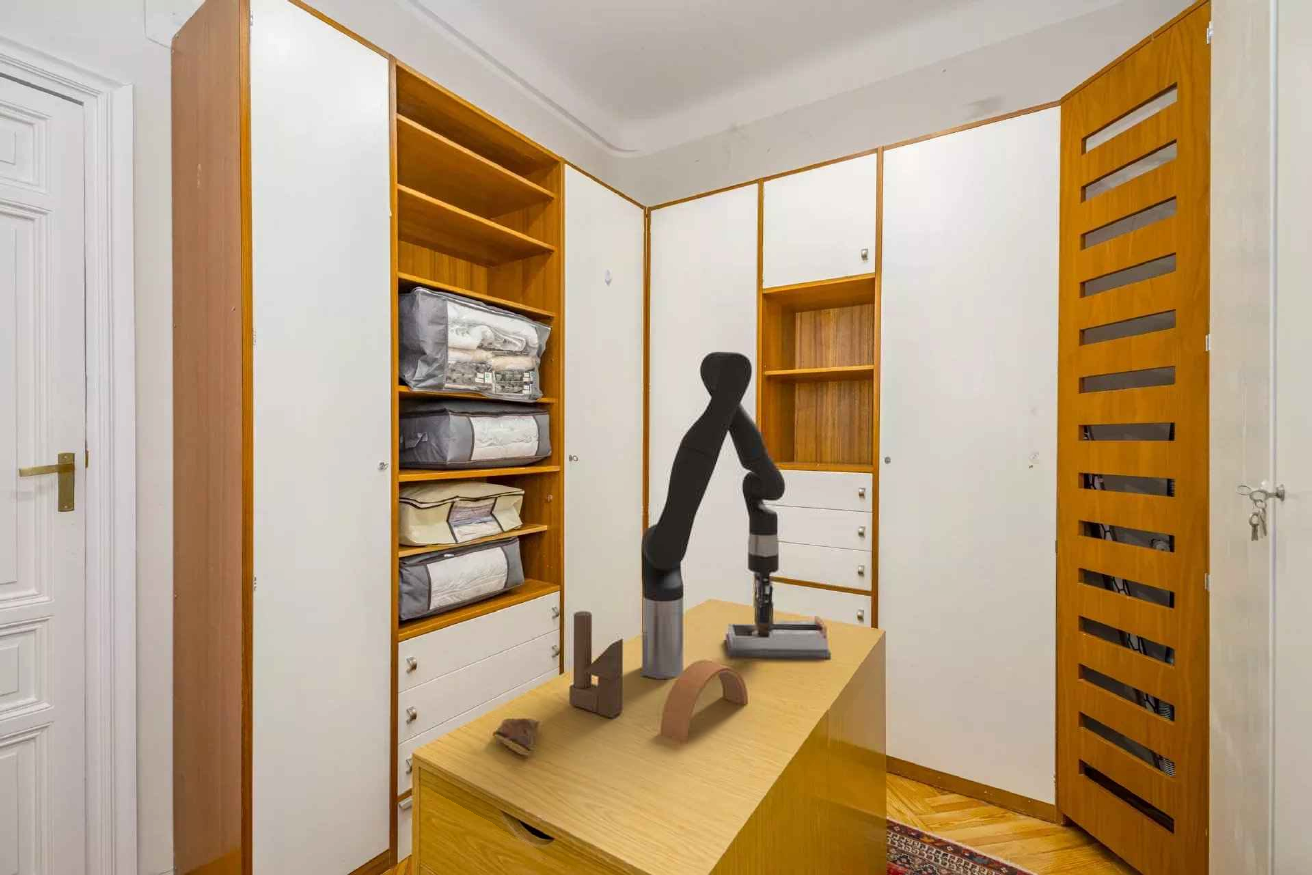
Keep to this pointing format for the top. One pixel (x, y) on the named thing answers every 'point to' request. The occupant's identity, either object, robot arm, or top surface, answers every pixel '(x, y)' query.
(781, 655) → the track
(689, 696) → the arch
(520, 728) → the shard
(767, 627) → the headed peg
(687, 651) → the top surface
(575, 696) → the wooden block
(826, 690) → the top surface
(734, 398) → the robot arm
